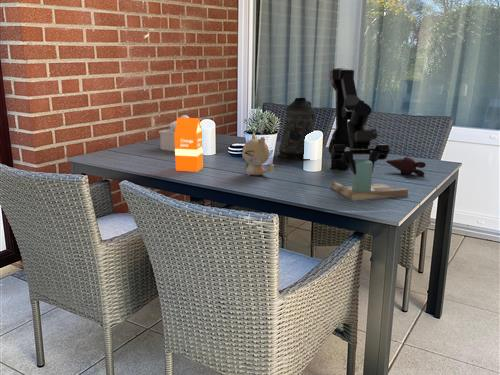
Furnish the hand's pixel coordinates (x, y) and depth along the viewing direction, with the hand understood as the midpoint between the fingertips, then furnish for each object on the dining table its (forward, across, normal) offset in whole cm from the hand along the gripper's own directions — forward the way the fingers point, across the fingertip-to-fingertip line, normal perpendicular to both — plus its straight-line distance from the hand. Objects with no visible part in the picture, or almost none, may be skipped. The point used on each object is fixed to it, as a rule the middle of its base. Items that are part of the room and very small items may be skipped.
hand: (363, 173), depth 162 cm
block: (+3, 0, +5) cm, 6 cm away
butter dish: (-49, -64, +59) cm, 100 cm away
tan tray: (+4, +2, +5) cm, 7 cm away
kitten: (-14, -34, +23) cm, 43 cm away
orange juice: (-20, -59, +30) cm, 70 cm away
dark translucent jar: (-37, -13, +47) cm, 62 cm away
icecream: (-13, +23, +23) cm, 35 cm away
